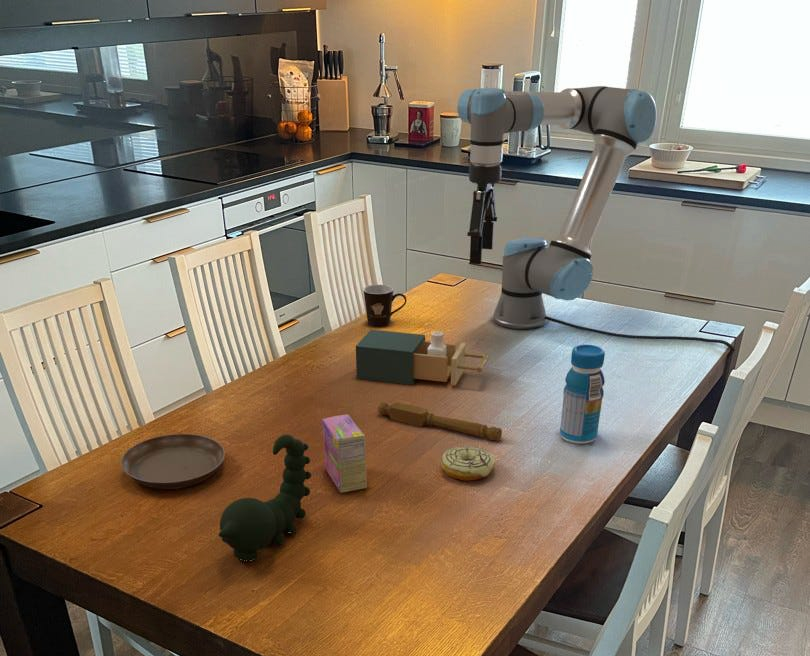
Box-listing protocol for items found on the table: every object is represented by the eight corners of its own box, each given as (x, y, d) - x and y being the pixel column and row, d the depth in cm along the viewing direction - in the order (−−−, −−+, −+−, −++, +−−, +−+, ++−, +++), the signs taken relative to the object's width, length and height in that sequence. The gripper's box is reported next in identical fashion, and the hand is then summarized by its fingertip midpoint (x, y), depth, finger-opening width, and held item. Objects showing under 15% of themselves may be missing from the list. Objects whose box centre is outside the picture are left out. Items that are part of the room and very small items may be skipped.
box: (325, 470, 176) (321, 417, 169) (351, 465, 178) (349, 413, 171) (339, 494, 168) (337, 440, 161) (367, 489, 169) (365, 435, 163)
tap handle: (497, 431, 184) (375, 404, 195) (496, 443, 185) (375, 416, 197) (502, 425, 186) (381, 399, 197) (502, 438, 188) (382, 411, 199)
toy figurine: (282, 512, 165) (200, 571, 145) (278, 420, 156) (190, 469, 136) (323, 524, 162) (245, 585, 142) (322, 431, 152) (239, 482, 133)
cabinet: (425, 366, 221) (425, 334, 216) (412, 385, 212) (412, 351, 207) (371, 360, 225) (370, 329, 220) (356, 378, 215) (355, 345, 210)
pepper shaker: (446, 367, 215) (447, 331, 210) (441, 373, 212) (442, 337, 207) (431, 366, 217) (432, 329, 211) (426, 371, 213) (427, 335, 208)
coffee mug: (358, 325, 247) (357, 291, 241) (373, 316, 253) (372, 282, 248) (394, 332, 242) (393, 297, 237) (408, 322, 249) (408, 288, 243)
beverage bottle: (557, 442, 186) (566, 355, 175) (560, 426, 192) (569, 340, 181) (596, 447, 184) (608, 359, 173) (598, 429, 191) (610, 344, 180)
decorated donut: (495, 484, 171) (496, 467, 169) (441, 483, 171) (442, 467, 169) (492, 459, 179) (493, 443, 177) (441, 458, 180) (441, 442, 178)
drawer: (489, 371, 216) (490, 345, 213) (480, 388, 208) (481, 361, 204) (414, 363, 221) (414, 338, 217) (402, 379, 212) (402, 353, 208)
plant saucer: (246, 461, 179) (245, 447, 177) (178, 506, 164) (175, 491, 162) (173, 438, 188) (171, 425, 186) (101, 479, 173) (98, 464, 171)
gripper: (480, 153, 210) (476, 241, 222) (457, 173, 190) (454, 269, 202) (511, 154, 208) (505, 244, 220) (490, 174, 188) (486, 271, 200)
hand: (481, 256), depth 211 cm, fingers open, 13 cm apart
